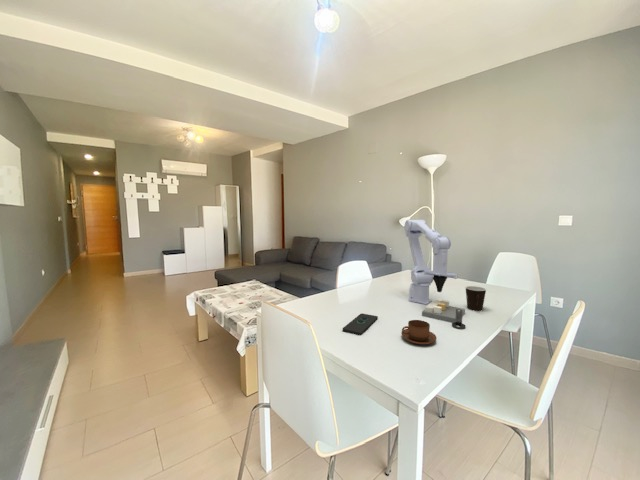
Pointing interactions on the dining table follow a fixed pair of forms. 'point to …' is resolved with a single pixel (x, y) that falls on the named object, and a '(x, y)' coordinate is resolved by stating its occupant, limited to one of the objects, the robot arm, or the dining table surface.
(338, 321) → the dining table surface
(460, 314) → the black door knob
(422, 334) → the cup and saucer
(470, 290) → the coffee mug
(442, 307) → the block
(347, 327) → the smart home device
